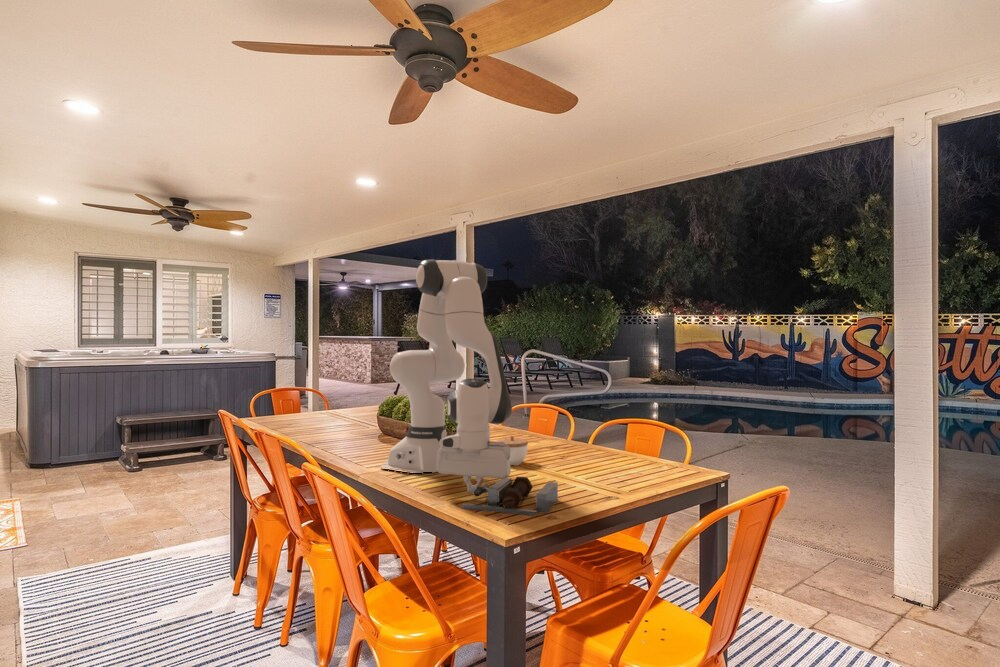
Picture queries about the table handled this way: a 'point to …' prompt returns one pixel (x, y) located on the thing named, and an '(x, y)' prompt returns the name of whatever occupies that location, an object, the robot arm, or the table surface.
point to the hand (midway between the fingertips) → (473, 492)
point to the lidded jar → (516, 449)
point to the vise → (543, 502)
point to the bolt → (517, 492)
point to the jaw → (495, 491)
